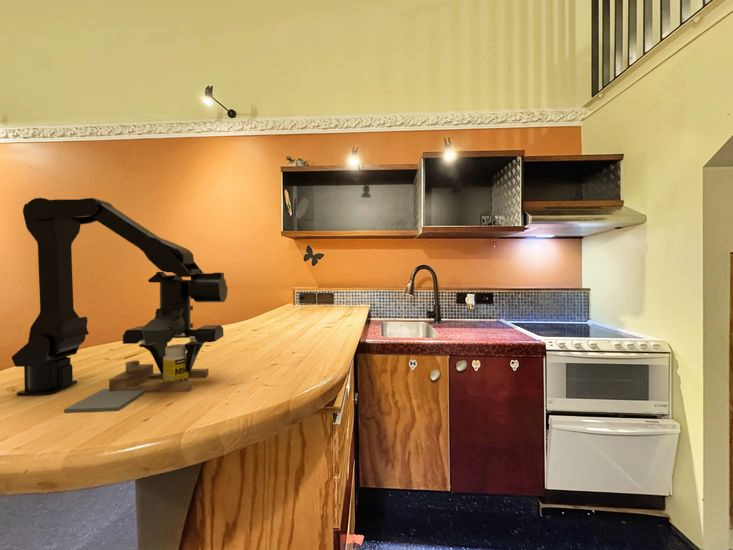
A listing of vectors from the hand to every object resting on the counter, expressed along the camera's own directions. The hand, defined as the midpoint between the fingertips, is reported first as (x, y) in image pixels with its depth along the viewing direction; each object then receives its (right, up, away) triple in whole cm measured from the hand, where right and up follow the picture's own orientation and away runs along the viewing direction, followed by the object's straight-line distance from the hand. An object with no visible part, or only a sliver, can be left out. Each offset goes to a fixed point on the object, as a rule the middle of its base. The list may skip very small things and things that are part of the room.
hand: (175, 372), depth 66 cm
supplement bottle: (0, -3, 0) cm, 3 cm away
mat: (-7, -3, -9) cm, 12 cm away
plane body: (-3, -2, 0) cm, 4 cm away
